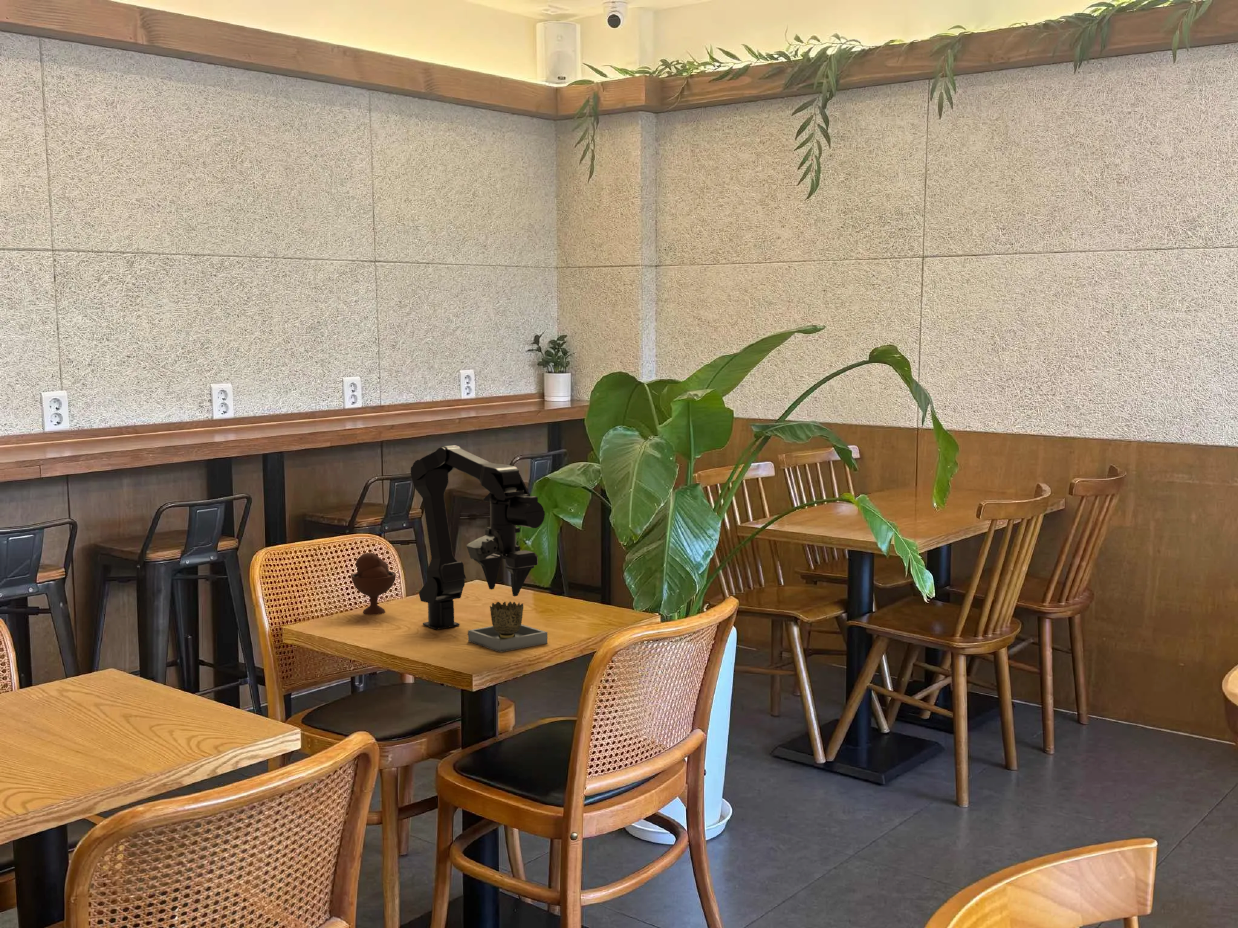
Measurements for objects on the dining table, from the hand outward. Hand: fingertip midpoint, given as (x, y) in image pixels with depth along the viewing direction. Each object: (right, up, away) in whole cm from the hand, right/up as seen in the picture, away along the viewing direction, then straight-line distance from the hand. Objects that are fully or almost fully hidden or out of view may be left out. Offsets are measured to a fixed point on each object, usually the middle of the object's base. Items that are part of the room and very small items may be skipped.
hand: (503, 592), depth 274 cm
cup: (+1, -11, 0) cm, 11 cm away
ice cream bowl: (-35, -8, +30) cm, 46 cm away
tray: (+1, -11, 0) cm, 11 cm away
